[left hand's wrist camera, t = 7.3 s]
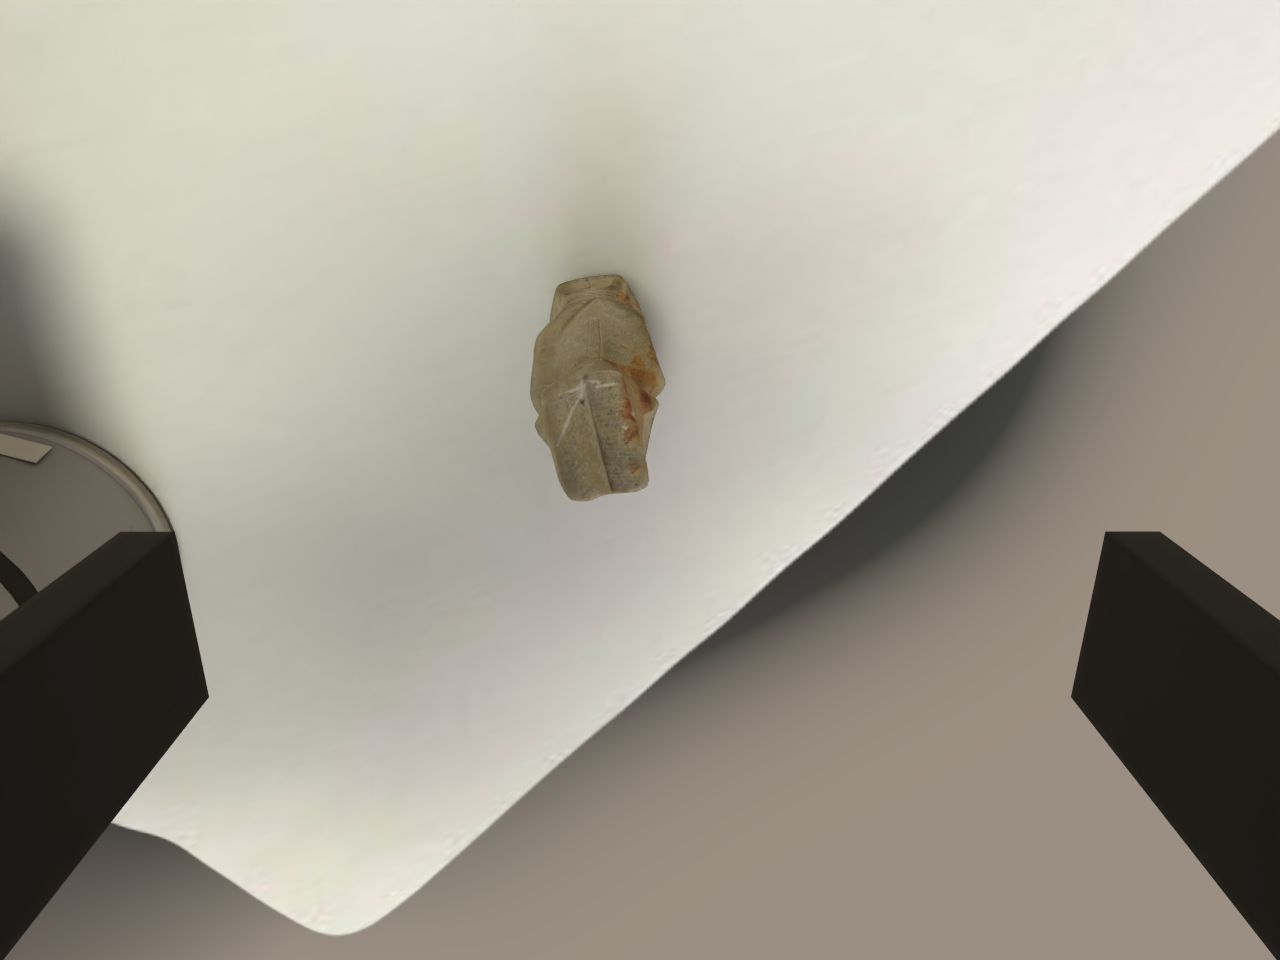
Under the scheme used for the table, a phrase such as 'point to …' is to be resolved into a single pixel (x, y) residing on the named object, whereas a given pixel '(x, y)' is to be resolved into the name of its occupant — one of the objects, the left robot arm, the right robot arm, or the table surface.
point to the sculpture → (596, 387)
